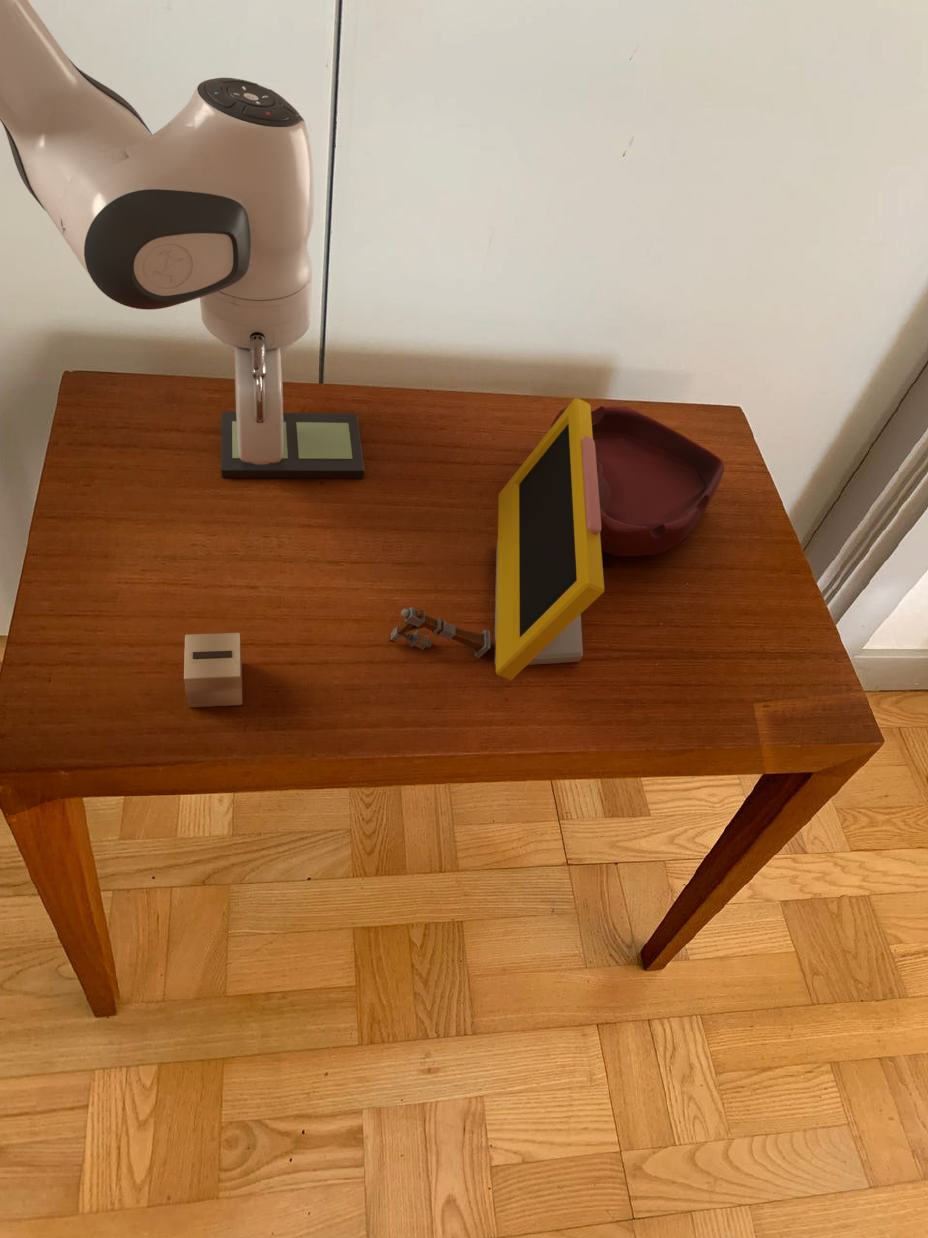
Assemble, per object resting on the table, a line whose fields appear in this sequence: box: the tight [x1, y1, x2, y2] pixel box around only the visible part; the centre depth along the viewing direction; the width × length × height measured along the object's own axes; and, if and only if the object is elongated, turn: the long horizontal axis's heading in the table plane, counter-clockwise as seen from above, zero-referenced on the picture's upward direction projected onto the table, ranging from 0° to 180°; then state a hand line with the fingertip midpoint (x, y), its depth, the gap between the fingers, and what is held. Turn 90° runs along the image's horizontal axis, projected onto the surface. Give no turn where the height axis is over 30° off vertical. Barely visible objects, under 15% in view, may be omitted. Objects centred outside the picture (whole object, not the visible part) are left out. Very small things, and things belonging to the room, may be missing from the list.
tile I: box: [183, 632, 243, 708], centre depth 70 cm, size 4×4×4 cm
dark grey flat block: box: [220, 411, 365, 479], centre depth 88 cm, size 13×8×1 cm, turn 99°
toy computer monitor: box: [493, 397, 605, 681], centre depth 75 cm, size 20×8×16 cm, turn 178°
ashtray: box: [549, 405, 725, 557], centre depth 90 cm, size 18×16×5 cm
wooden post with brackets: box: [388, 606, 491, 659], centre depth 76 cm, size 2×8×4 cm, turn 91°
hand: (259, 429), depth 86 cm, fingers open, 6 cm apart
